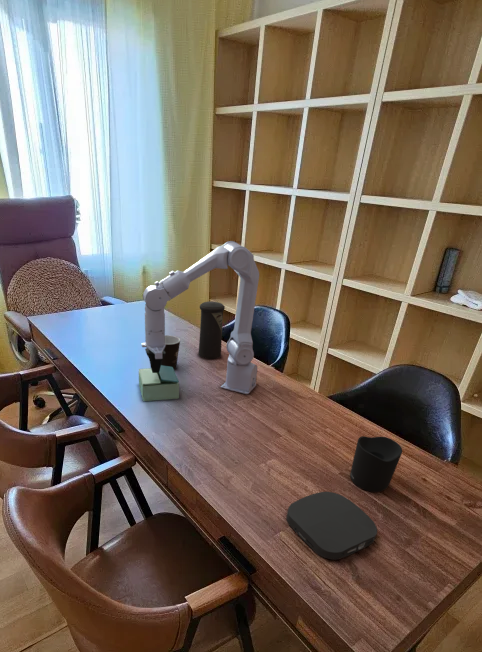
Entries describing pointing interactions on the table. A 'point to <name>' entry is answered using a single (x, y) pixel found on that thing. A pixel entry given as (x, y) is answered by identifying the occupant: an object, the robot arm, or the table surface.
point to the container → (211, 330)
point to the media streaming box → (331, 524)
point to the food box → (156, 386)
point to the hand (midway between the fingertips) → (155, 371)
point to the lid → (168, 374)
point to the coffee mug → (171, 351)
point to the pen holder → (374, 463)
